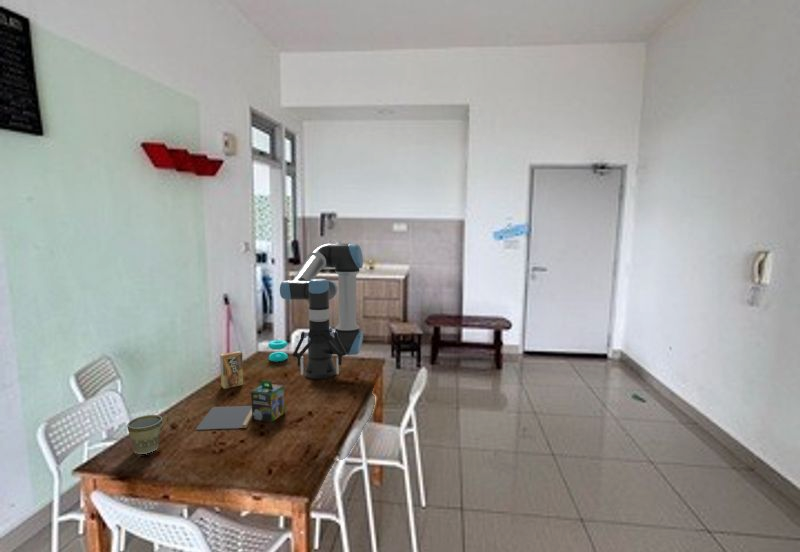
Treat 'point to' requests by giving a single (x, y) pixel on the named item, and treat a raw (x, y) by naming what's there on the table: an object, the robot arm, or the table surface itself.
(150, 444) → the ceramic cup
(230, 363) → the candy box
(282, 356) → the donuts
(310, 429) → the table surface
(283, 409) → the chalk box
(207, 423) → the mat
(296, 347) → the robot arm
